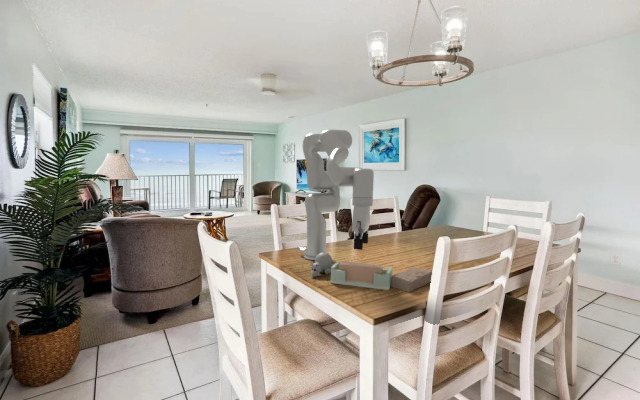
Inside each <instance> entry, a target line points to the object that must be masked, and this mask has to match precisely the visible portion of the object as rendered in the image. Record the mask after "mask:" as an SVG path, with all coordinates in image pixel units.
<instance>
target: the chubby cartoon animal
mask: <svg viewBox="0 0 640 400" xmlns="http://www.w3.org/2000/svg"><path fill="white" fill-rule="evenodd" d="M334 264H335V263H333V258H332V256H331V255H330V254H329V253H328V252H326V253H325V252H322V253H319V254H318V255H317V256H316V258H315V260H314V263H313V262H310V265H311V270H310V274H311V276H312V277H314V278H316V277H318V275H319V273H325V275H329V274H331V267H332V266H333V265H334Z"/></svg>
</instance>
